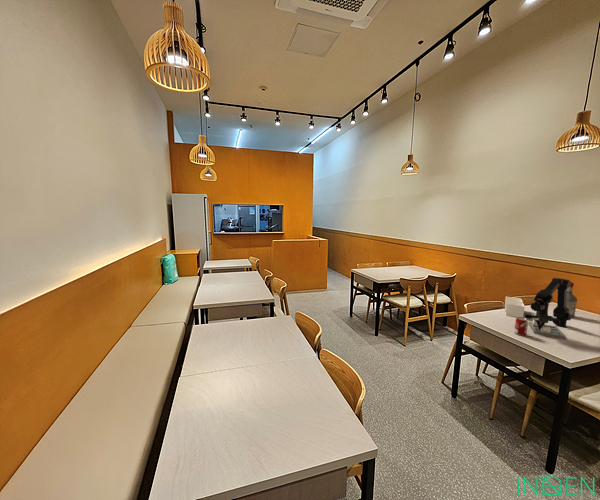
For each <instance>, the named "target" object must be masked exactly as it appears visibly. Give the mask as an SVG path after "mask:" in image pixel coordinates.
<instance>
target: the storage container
mask: <svg viewBox="0 0 600 500" xmlns="http://www.w3.org/2000/svg"><path fill="white" fill-rule="evenodd" d="M504 308H505V309H504V312H505V316H508V317H511V318H512V317H513V318H517V317H522V318H524V316H523V314H524V313H525V308H526V307H525V304H524V302H523V300H522V298H519V297H512V296H507V295H506V296H505V300H504Z"/></svg>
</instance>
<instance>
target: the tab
mask: <svg viewBox="0 0 600 500" xmlns="http://www.w3.org/2000/svg"><path fill="white" fill-rule="evenodd" d="M541 331H542V332H547V333H550V332H551V328H550V327H547V326H542V330H541Z"/></svg>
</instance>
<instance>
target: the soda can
mask: <svg viewBox="0 0 600 500" xmlns="http://www.w3.org/2000/svg"><path fill="white" fill-rule="evenodd" d="M528 323H529V321H528V319H527V318H524V317H523V318H522V317H516V319H515V323H514V329H513V333H515V334H516V335H518V336H527V332H528V327H529V324H528Z"/></svg>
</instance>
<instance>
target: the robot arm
mask: <svg viewBox="0 0 600 500" xmlns="http://www.w3.org/2000/svg"><path fill="white" fill-rule="evenodd" d="M571 282H572V281H571V280H570V279H568V278H567V279H566V278H561V277H557V278H556V277H553V278H552V279H551V281H550V283H549V284H547V286H546V287H545V288H544V289H540V290H539V291H538V292H537V293H536V295H535V297H534V298H533V301H534V302H533V303H531V304H530V309H531V310H532V311H534V312H536V313H535V315H534V314H532V313H530V312H524V314H523V318H526V319H527V320H531V319H532V320H533V319H534V320H535V321H536V322H537V325H538V329H541V328H542V326H543V325H544V324H545V325H546V324H549V322H552V323H553V324H554V326H556V327H561V328H567V329H568V325H567V321H571V320H572V318H571V315H570V313H569V309H568V308H567V307H566V296H567V289H568V288H569V287H570V285H571ZM556 290H557V296H556V297H557V303H556V307H555V308H554V309H553V311H552V315H549V313H548V312H549V306H550V303H551V302H552V300H553V298H554V297H553V294H554V293H555V291H556Z"/></svg>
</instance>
